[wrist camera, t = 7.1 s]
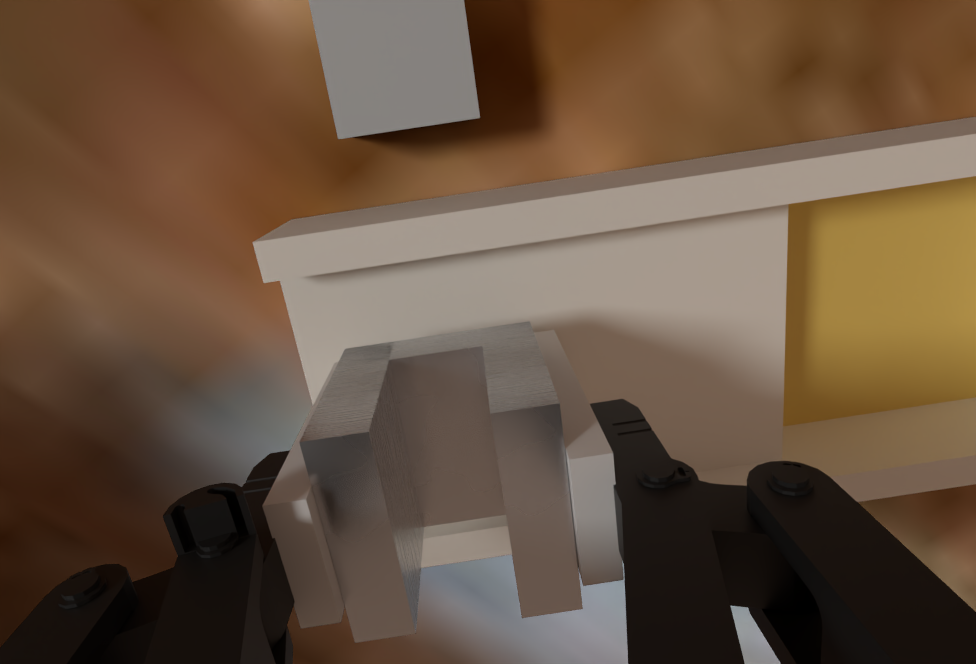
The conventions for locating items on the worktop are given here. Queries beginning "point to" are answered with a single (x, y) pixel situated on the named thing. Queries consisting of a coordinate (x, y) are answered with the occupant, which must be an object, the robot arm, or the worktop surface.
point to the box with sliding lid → (695, 302)
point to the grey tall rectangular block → (395, 63)
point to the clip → (440, 468)
